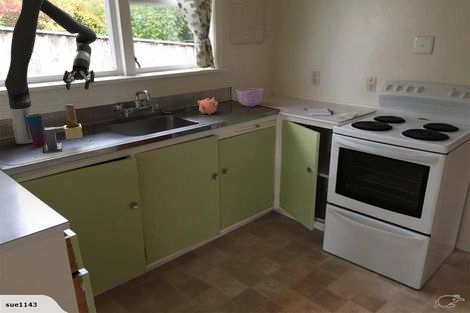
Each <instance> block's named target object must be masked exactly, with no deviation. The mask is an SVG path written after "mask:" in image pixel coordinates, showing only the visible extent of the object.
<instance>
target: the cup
mask: <svg viewBox="0 0 470 313" xmlns="http://www.w3.org/2000/svg"><path fill="white" fill-rule="evenodd" d="M26 119H27V123H28V126H29V130H30V134H31V138H32V145H33V147H34V148H41V147H42V148H43V145H46V137H45V131H44V129H45V127H44V121H43V114H42V113H33V114H30V115H26Z"/></svg>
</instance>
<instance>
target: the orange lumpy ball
mask: <svg viewBox="0 0 470 313" xmlns="http://www.w3.org/2000/svg"><path fill="white" fill-rule="evenodd" d="M197 104H198V107H199V108H198V109H199V110H198V111H199V113H200V114H201V115H206V114H207V115H208V116H212V114H215V112H217V107H218V105H219V102H218V101H216V99H215V96H214V97H212V98H211V99H210V98H209V97H206V98H205V99H202V100H198V101H197Z"/></svg>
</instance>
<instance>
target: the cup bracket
mask: <svg viewBox="0 0 470 313" xmlns="http://www.w3.org/2000/svg"><path fill="white" fill-rule="evenodd" d="M77 126H78V127H74V128H68V124H67V125H63V126H56V127H54V126H51V127H44V137H45V145H43V147H42V154H49V153H50V154H51V153H59V152H63V143H62V142H61V143H60V142H59V143H58V142H57V136H56V133H58V134H59V133H64V134H65V140H72V139H74V140H75V139H81V138H83V137H84V136H83V129H82V124H81V123H77Z"/></svg>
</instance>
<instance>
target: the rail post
mask: <svg viewBox="0 0 470 313" xmlns="http://www.w3.org/2000/svg"><path fill="white" fill-rule="evenodd" d="M64 107H65V108H64V109H65V114H66V120H67V121H66V122H67V125H68V128H74V127H78V126H77V124H78V121H77V120H78V119H77V113H76V106H75V104H74V103H70V104H69V103H67V104H65V105H64Z"/></svg>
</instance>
